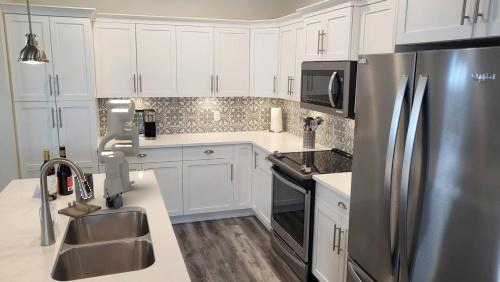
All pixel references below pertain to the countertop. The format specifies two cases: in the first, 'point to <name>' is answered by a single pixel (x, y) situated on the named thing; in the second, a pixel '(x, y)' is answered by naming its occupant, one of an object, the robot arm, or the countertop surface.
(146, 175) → the countertop surface
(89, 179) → the coffee box
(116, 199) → the dark grey block
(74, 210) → the pin tray
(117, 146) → the robot arm
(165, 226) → the countertop surface
